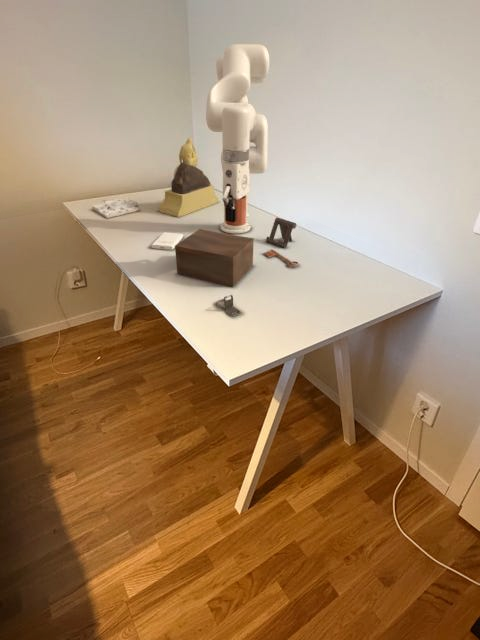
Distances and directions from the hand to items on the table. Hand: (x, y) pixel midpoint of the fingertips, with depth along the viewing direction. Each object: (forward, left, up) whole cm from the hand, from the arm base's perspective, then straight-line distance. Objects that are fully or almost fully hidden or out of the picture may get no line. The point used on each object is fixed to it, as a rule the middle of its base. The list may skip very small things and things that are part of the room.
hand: (235, 217), depth 118 cm
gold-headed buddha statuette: (-52, -48, -18) cm, 72 cm away
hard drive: (-10, -33, -18) cm, 38 cm away
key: (-14, +11, -18) cm, 25 cm away
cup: (0, 0, -2) cm, 2 cm away
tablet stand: (-29, +6, -18) cm, 34 cm away
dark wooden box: (+3, -6, -18) cm, 19 cm away
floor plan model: (-35, -79, -18) cm, 88 cm away
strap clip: (+23, +8, -18) cm, 31 cm away
